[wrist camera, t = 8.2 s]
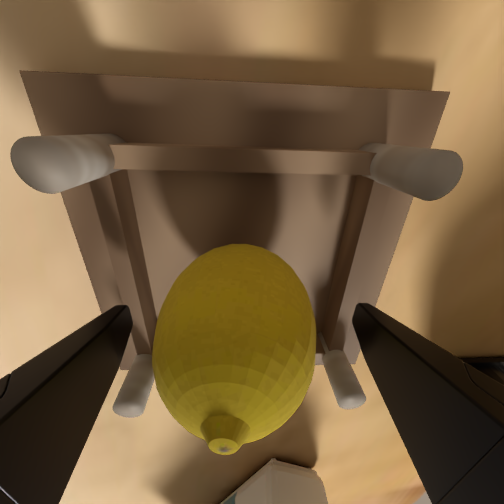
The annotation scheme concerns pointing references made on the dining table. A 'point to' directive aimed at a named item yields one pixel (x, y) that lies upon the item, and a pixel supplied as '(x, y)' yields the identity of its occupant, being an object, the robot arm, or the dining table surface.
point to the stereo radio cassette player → (280, 486)
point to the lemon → (234, 346)
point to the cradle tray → (234, 190)
